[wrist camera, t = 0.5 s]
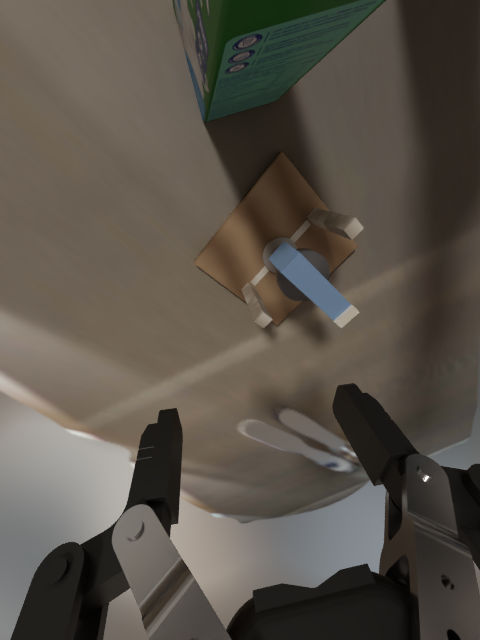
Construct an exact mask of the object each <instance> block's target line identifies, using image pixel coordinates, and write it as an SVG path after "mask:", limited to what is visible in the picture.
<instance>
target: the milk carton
mask: <svg viewBox="0 0 480 640" xmlns="http://www.w3.org/2000/svg"><path fill="white" fill-rule="evenodd" d="M172 1H173V8H174V12H175V16H176V19H177V23H178V27H179V31H180V35H181V39H182V43H183V46H184V50H185V54H186V58H187V62H188V66H189V70H190V73H191V77H192V81H193V85H194V89H195V93H196V97H197V100H198V104H199V108H200V112H201V116H202V120H203V122H207V121H210V120H214V119H217V118H221V117H224V116H227V115H231V114H234V113H237V112H241V111H244V110H248V109H251V108H254V107H258V106H261V105H264V104H268V103H271V102H275V101H277V100H278V99H279V98H280V97H281V96H283V95H284V94H285V93H286V92H287V91H288V90H289V89H290V88H291V87H292V86H293V85H294V84H296V83H297V82H298V81H299V80H300V79H301V78H302V77H303V76H304V75H305V74H306V73H308V72H309V71H310V70H311V69H312V68H313V67H314V66H315V65H316V64H317V63H318V62H320V61H321V60H322V59H323V58H324V57H325V56H326V55H327V54H328V53H329V52H330V51H332V50H333V49H334V48H335V47H336V46H337V45H338V44H339V43H340V42H341V41H342V40H344V39H345V38H346V37H347V36H348V35H349V34H350V33H351V32H352V31H353V30H354V29H356V28H357V27H358V26H359V25H360V24H361V23H362V22H363V21H364V20H365V19H366V18H367V17H369V16H370V15H371V14H372V13H373V12H374V11H375V10H376V9H377V8H378V7H379V6H381V5H382V4H383V3H384V2H385V1H386V0H172Z"/></svg>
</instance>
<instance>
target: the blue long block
mask: <svg viewBox="0 0 480 640" xmlns="http://www.w3.org/2000/svg"><path fill="white" fill-rule="evenodd" d="M268 259H269V260H270V261H271V262H272V264H273V265H274V266H275V267H276V268H277V271H276V282H277V285H278V287H279V288H280V290H281V291H282V292H283V293H284V295H285V296H286V297H288V298H289V299H291V300H294V301H305V300H309V299H310V300H312V301H313V302H314V303H315V304H316V305H317V306H318V307H319V308H320V309H321V310H323V311H324V312H325V313H326V314H327V315H328V316H329V317H330V318H331V319H332V320H333V321H334V322H335V323H336V324H337V325H338V326H339V327H340V328H342V327H343V326H345V325H346V324H347V323H348V322H349V321H350V320H351V319H353V318H354V317H355V316H356V315H357V314H358V313H359V311H358V310H357V309H356V308H355V307H354V306H353V305H352V304H350V303H349V302H348V301H347V300H346V299H345V298H344V297H343V296H342V295H341V294H340V293H339V292H338V291H337V290H336V289H335V288H334V287H333V286H332V285H331V284H330V283H329V282H328V279H329V273H330V269H329V265H328V262H327V260H326V259H325V258H324V257H323V256H322V255H320V254H319V253H317V252H316V251H314V250H312V249H308V248H300V249H294V248H293V247H291V246H290V245H289V244H287V243H286V242H283V243H282V244H281V245H280V246H279V247H278V248H277V250H276V251H275V252H274V253H273V254H272V255H271V256H270V257H269V258H268Z"/></svg>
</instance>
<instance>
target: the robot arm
mask: <svg viewBox="0 0 480 640" xmlns="http://www.w3.org/2000/svg"><path fill="white" fill-rule="evenodd" d="M333 413H334V415H335V418H336V419H337V421H338V423H339V425H340V427H341V428H342V430H343V432H344V434H345V435H346V437H347V439H348V441H349V443H350V444H351V446H352V448H353V450H354V451H355V453H356V455H357V457H358V458H359V460H360V462H361V464H362V466H363V467H364V469H365V471H366V473H367V474H368V476H369V478H370V480H371V482H372V483H373V485H374V486H376V485H381V484H383V485H384V486H385V488H386V490H387V491H386V497H385V501H386V502H385V531H384V545H383V549H382V552H381V558H380V566H379V574H378V573H375V572H371V571H370V568H369V566H368V564H363V565H359V566H355V567H350V568H346V569H342V570H340V571H338V572H337V573H336V574H334V575H333V576H331V577H330V578H329V579H327V580H326V581H325V582H323V583H322V584H321V585H319V586H318V587H316V588H308V587H302V586H295V585H288V584H278V585H274V586H270V587H265V588H261V589H257V590H253V598H251V599H250V600H248V601H247V602H246V603H245V604H244V605H243V606H242V607H241V608H240V609H239V610H238V611H237V613H236V614H235V615H234V617H233V618H232V620H231V622H230V623H229V625H228V627H227V629H225V628H224V626H223V624H222V623H221V621H220V619H219V618H218V616H217V615H216V613H215V611H214V610H213V608H212V606H211V605H210V603H209V601H208V600H207V598H206V596H205V595H204V593H203V591H202V590H201V588H200V586H199V585H198V583H197V581H196V580H195V578H194V576H193V575H192V573H191V572H190V570H189V569H188V567H187V566H186V564H185V563H184V561H183V559H182V558H181V556H180V555H179V553H178V551H177V549H176V548H175V546H174V545H173V543H172V541H171V540H170V529H171V525H172V524H178V515H179V498H180V479H181V461H182V442H183V435H182V427H181V423H180V419H179V415H178V411H177V408H173V409H166V410H160V412H159V416H158V422H157V423H155V424H149V425H148V426H147V428H146V429H145V431H144V433H143V434H142V436H141V440H140V445H139V451H138V455H137V461H136V464H135V469H134V474H133V478H132V483H131V488H130V492H129V497H128V501H127V505H126V507H125V509H124V512H123V513H122V515H121V516H120V518H119V519H118V520H117V521H116V522H115V523H114V524H113V525H112V526H111V527H110V528H108V529H107V530H105V531H104V532H102V533H100V534H99V535H97V536H95V537H93V538H91V539H90V540H88V541H86V542H84V543H83V544H81V545H79V544H78V543H75V542H68V543H65V544H62V545H60V546H58V547H57V548H56V549H54V550H53V551H52V552H51V553H49V554H48V555H47V557H46V558H45V559H44V560H43V561H42V563H41V564H40V566H39V567H38V569H37V571H36V572H35V574H34V577H33V579H32V582H31V585H30V587H29V590H28V593H27V596H26V598H25V601H24V604H23V607H22V609H21V612H20V615H19V618H18V621H17V623H16V626H15V629H14V632H13V634H12V638H11V640H103V636H104V629H105V624H106V617H107V611H108V605H109V602H110V601H112V600H113V599H115V598H116V597H118V596H119V595H120V594H122V593H123V592H125V591H126V590H128V589H129V588H131V590H132V592H133V594H134V597H135V599H136V602H137V604H138V606H139V609H140V611H141V614H142V621H143V625H144V628H145V630H146V633H147V636H148V638H149V640H480V595H479V589H478V584H477V579H476V574H475V569H474V564H473V561H474V562H475V563H476V565H477V567H478V568H479V570H480V464H474V465H472V466H471V467H470V468H469V469H468V470H461V469H456V468H450V467H444V466H440V465H439V464H438V463H436V462H435V461H434V460H432V459H431V458H429V457H427V456H424V455H421V454H420V453H419V452H418V451H417V450H416V449H415V448H414V447H413V445H412V444H411V443H410V442H409V440H408V439H407V438H406V437H405V435H404V434H403V433H402V431H401V430H400V429H399V428H398V426H397V425H396V424H395V423H394V421H393V420H391V417H390V416H389V415H388V414H387V412H385V411H384V409H383V407H382V406H381V405H380V404H379V402H378V401H377V400H376V399H374V398H373V397H372V396H370V395H369V394H368V393H362V392H361V390H360V389H359V388H358V386H357V385H356V384H354V383H351V384H344V385H339V386H338V387H337V390H336V394H335V398H334V401H333Z"/></svg>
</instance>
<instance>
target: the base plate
mask: <svg viewBox="0 0 480 640" xmlns="http://www.w3.org/2000/svg"><path fill="white" fill-rule="evenodd" d="M363 229H364V228H363V227H362V225H361V224H360V223H359V221H358V220H357V219H356V218H354V217H350V216H346V215H342V214H338V213H334V212H330V211H329V209H328V208H327V207H326V206H325V204H324V203H323V202H322V200H321V199H320V198H319V197H318V195H317V194H316V193H315V192H314V190H313V189H312V188H311V187H310V185H309V184H308V183H307V182H306V180H305V179H304V178H303V177H302V175H301V174H300V173H299V172H298V170H297V169H296V168H295V167H294V165H293V164H292V163H291V162H290V160H289V159H288V158H287V157H286V155H285V154H284V153H283V152H279V153H278V155H277V156H276V157H275V158H274V160H273V161H272V162H271V164H270V165H269V166H268V167H267V169H266V170H265V171H264V173H263V174H262V175H261V176H260V178H259V179H258V180H257V181H256V183H255V184H254V185H253V187H252V188H251V189H250V190H249V192H248V193H247V194H246V195H245V197H244V198H243V199H242V201H241V202H240V203H239V204H238V206H237V207H236V208H235V209H234V211H233V212H232V213H231V215H230V216H229V217H228V218H227V220H226V221H225V222H224V223H223V225H222V226H221V227H220V229H219V230H218V231H217V232H216V234H215V235H214V236H213V237H212V239H211V240H210V241H209V243H208V244H207V245H206V246H205V248H204V249H203V250H202V251H201V253H200V254H199V255H198V257H197V258H196V259H195V260H194V264H195V265H197V266H198V267H199V268H201V269H202V270H203V271H205V272H206V273H207V274H209V275H210V276H211V277H213V278H214V279H215V280H217V281H218V282H219V283H221V284H222V285H223V286H225V287H226V288H227V289H229V290H230V291H231V292H233V293H234V294H235V295H237V296H238V297H239V298H241V299H242V300H243V301H245V302H246V303H247V305H248V307H249V309H250V312H251V314H252V316H253V319H254V321H255V322H256V323H257V324H258V325H260V326H261V327H263V328H265V327H266V326H267V325H268V324H269V323H270V322H273V323H274V324H275V325H278V324H279V323H280V322H281V321H282V320H283V319H284V318H285V317H286V316H288V315H289V314H290V313H291V312H292V311H293V310H294V309H295V308H296V307H297V306H298V305H299V304H300V303H301V302H302V301H294V300H291V299H289V298H288V297H286V296H285V295H284V293H283V292H282V291H281V290H280V288H279V287H278V285H277V282H276V271H277V268H276V267H275V266H274V265H273V264H272V262H271V261H270V260H269V259H268V258H269V257H270V256H271V255H272V254H273V253H274V252H275V251H276V250H277V248H278V247H279V246H280V245H281V244H282V243H283V242H286V243H287V244H289V245H290V246H291V247H293V248H294V249H300V248H308V249H312V250H314V251H316V252H317V253H319V254H320V255H322V256H323V257H324V258H325V259H326V260H327V262H328V265H329V269H330V273H331V272H332V271H333V270H334V269H335V268H336V267H337V266H338V265H339V264H341V263H342V262H343V261H344V260H345V259H346V258H347V257H348V256H349V255H350V254H351V253H352V252H353V251H354V250H355V249H356V248H357V247H358V246H357V244H356V243H355V242H354V241H353V239H354V238H355V237H356V236H357V235H358V234H359V233H360V232H361V231H362V230H363ZM330 273H329V274H330Z"/></svg>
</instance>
